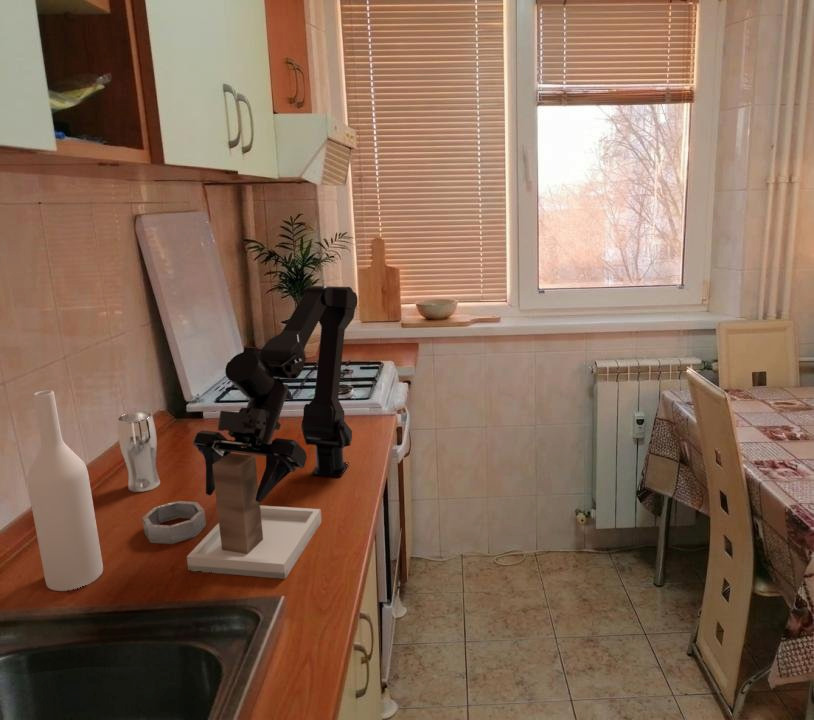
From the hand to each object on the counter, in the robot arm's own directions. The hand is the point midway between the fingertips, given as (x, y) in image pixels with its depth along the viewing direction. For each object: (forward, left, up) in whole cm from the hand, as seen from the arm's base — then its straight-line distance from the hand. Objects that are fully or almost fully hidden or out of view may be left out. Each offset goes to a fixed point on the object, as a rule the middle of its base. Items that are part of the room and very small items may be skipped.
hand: (232, 498), depth 104 cm
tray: (-3, +2, -10) cm, 11 cm away
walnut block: (-1, 0, -9) cm, 9 cm away
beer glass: (-22, -31, -10) cm, 39 cm away
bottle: (+10, -23, -10) cm, 27 cm away
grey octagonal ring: (-6, -15, -10) cm, 19 cm away
